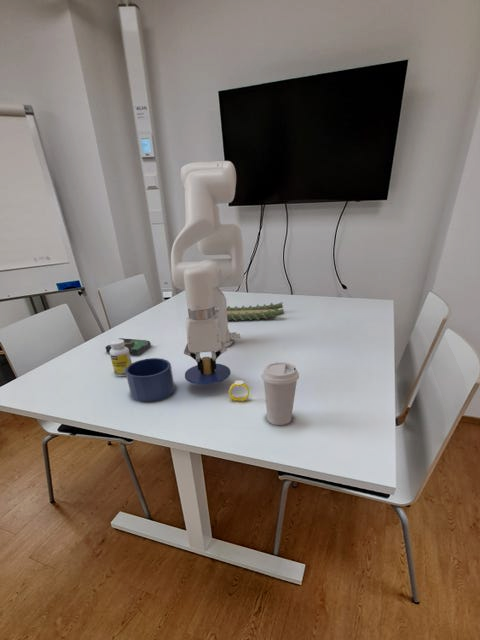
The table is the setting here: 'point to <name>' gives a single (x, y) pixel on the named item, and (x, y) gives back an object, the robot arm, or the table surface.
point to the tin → (150, 379)
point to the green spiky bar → (254, 312)
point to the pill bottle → (119, 357)
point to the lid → (207, 373)
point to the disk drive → (133, 346)
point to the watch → (238, 383)
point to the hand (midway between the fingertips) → (207, 371)
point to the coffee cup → (280, 391)
